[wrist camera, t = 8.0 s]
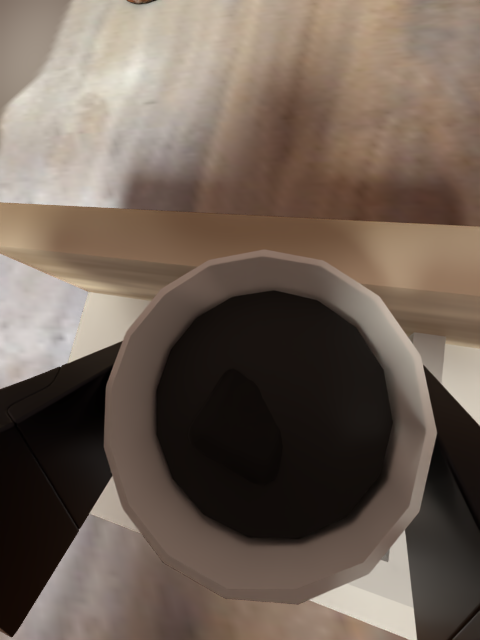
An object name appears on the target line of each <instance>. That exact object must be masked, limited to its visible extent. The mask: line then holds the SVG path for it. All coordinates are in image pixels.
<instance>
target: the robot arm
mask: <svg viewBox="0 0 480 640" xmlns="http://www.w3.org/2000/svg"><path fill="white" fill-rule="evenodd" d="M122 342H123V341H121V342H118V343H116V344H114V345H111V346H109V347H106V348H104V349H101V350H99V351H96V352H94V353H92V354H89V355H87V356H84V357H82V358H79V359H77V360H74V361H72V362H70V363H67V364H65V365H62V366H61V367H57V368H55V369H52V370H50V371H48V372H45V373H42V374H40V375H37V376H35V377H32V378H30V379H27V380H24V381H22V382H19V383H16V384H13V385H11V386H8V387H5V388H2V389H0V631H1V632H3V633H4V634H6V635H8V636H10V637H13V636H14V634H15V633H16V632H17V630H18V629H19V627H20V626H21V624H22V623H23V621H24V619H25V618H26V616H27V614H28V613H29V611H30V609H31V608H32V606H33V605H34V603H35V601H36V600H37V598H38V597H39V595H40V593H41V592H42V590H43V588H44V587H45V585H46V584H47V582H48V580H49V579H50V577H51V575H52V574H53V572H54V571H55V569H56V567H57V566H58V564H59V562H60V561H61V559H62V558H63V556H64V554H65V553H66V551H67V549H68V548H69V546H70V545H71V543H72V541H73V540H74V538H75V536H76V535H77V533H78V532H79V529H80V528H81V526H82V525H83V523H84V521H85V520H86V518H87V517H88V515H89V513H90V512H91V510H92V508H93V507H94V505H95V504H96V502H97V500H98V499H99V497H100V495H101V494H102V492H103V491H104V489H105V487H106V486H107V484H108V482H109V481H110V479H111V478H112V473H111V469H110V466H109V463H108V460H107V456H106V453H105V450H104V424H105V396H106V384H107V382H108V379H109V376H110V374H111V371H112V368H113V366H114V363H115V360H116V358H117V355H118V352H119V350H120V347H121V344H122ZM423 368H424V373H425V378H426V382H427V387H428V392H429V397H430V402H431V406H432V411H433V416H434V421H435V425H436V430H437V435H436V440H435V444H434V448H433V453H432V457H431V462H430V466H429V471H428V475H427V480H426V484H425V489H424V493H423V498H422V502H421V507H420V511H419V513H418V514H417V515H416V517H415V518H414V519H413V520H412V521H411V523H410V524H409V525H408V526H407V528H406V529H405V535H406V544H407V553H408V562H409V571H410V580H411V590H412V599H413V608H414V617H415V626H416V635H417V640H480V425H479V424H478V423H477V422H476V421H475V420H474V419H473V418H472V417H471V416H470V414H469V413H468V412H467V411H466V410H465V409H464V408H463V407H462V406H461V405H460V404H459V402H458V401H457V400H456V399H455V398H454V397H453V396H452V395H451V394H450V393H449V392H448V390H447V389H446V388H445V387H444V386H443V385H442V384H441V383H440V382H439V381H438V380H437V379H436V377H435V376H434V375H433V374H432V373H431V372H430V371H429V370H428V369H427V368H426V367H425V366H424V365H423Z"/></svg>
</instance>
